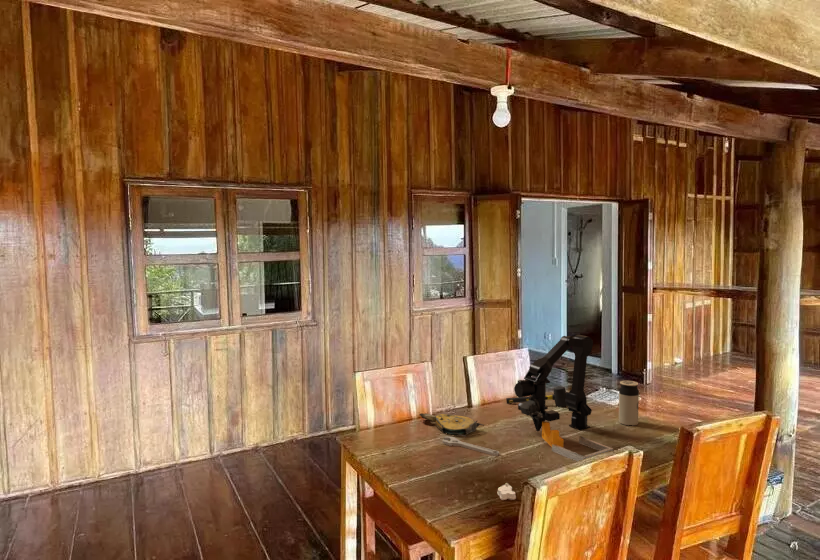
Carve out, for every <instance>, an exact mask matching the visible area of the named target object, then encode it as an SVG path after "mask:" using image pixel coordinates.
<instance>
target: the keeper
mask: <svg viewBox="0 0 820 560" xmlns="http://www.w3.org/2000/svg"><path fill="white" fill-rule="evenodd" d="M578 444H580V445H583V446H586V447H587V446H588V447H587V448H590V447H591V448H590V449H592V448H593V450H595V449H596V451H595V452H592V453H589V454H585V455H581V454H579V453H577V452H575V451H572V450H570V449H567V448H565V447H564V446H563V447H560V446H558V445H555V444H552V447H551V452H553V453H556V454H558V455H560V456H562V457H565V458H567V459H569V458H570V459H569V460H572V459H573V460H572V461H574V460H576V461H579V460H583V459H586V458H589V457H592V456H594V455H598V454H601V453H605V452H608V451H613V452H614V448H613V447H610V446H607V445H604V444H602V443H599V442H598V441H594V440H591V439H589V438H586V437H584V436H579V437H578ZM598 450H599V451H598ZM576 461H575V462H576Z"/></svg>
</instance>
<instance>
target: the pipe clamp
mask: <svg viewBox="0 0 820 560" xmlns="http://www.w3.org/2000/svg"><path fill="white" fill-rule="evenodd" d="M541 438H542V439H543V440H544V441H545V442H546V444H548V445H549V446H550V447H551V448H552V444H555V445H558V446H560V447H563V448H564V442H565V441H564V440H565V439H563V438H562V436H560V431H559V429H551V423H550V421H545V422H542V427H541Z"/></svg>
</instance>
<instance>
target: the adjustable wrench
mask: <svg viewBox="0 0 820 560" xmlns="http://www.w3.org/2000/svg"><path fill="white" fill-rule="evenodd" d="M448 440H450V441H448ZM441 442H442V444H443V443H444V444H443V445H445V444H446V445H445V446H448V445H449V447H451V446H452V445H453V447H460V446H461V448H465V449H469V450H472V451H476V452H479V453H482V454H486V455H491V456H495V457H497V456H499V455H500V451H499V450H496V449H491V448H488V447H484V446H480V445H475V444H472V443H469V442H465V441H461V440H460V439H458V438H457V437H456V436H450V435H449V436H443V439H442V440H441Z"/></svg>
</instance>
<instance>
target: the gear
mask: <svg viewBox="0 0 820 560" xmlns="http://www.w3.org/2000/svg"><path fill="white" fill-rule="evenodd" d="M496 494H497V495H498V496H499V498H500V500H502V501H504V500H505V501H506V500H507V499H508V500H516V499H517V496H516V492H515V491H514V490H513V487H512V486H511V485H510V484H509V483H508V482H506V483H505V484H502V485H501V486H500V487H498V488H497V493H496Z"/></svg>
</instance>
